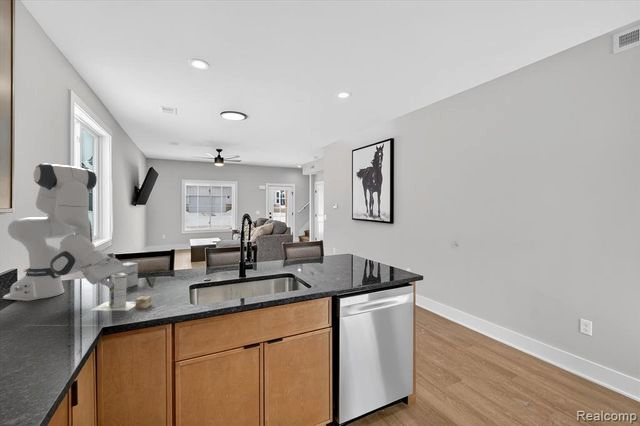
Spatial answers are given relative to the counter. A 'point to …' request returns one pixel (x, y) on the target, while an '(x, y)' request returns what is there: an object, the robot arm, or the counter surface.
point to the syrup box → (117, 290)
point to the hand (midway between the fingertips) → (118, 283)
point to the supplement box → (131, 274)
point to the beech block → (143, 302)
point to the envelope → (106, 307)
